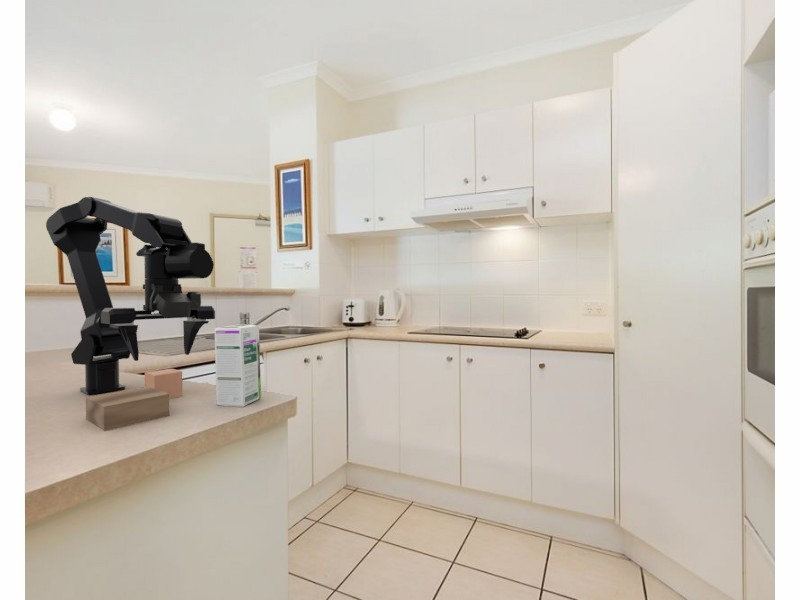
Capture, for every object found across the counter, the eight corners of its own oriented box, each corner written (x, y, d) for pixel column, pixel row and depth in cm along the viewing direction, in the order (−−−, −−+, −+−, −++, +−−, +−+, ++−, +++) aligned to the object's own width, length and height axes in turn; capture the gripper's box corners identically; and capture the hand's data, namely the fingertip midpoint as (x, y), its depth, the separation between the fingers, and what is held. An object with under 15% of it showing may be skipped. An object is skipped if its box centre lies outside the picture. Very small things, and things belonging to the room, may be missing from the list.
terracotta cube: (145, 397, 77) (144, 372, 77) (172, 392, 81) (171, 368, 81) (154, 401, 74) (154, 375, 74) (182, 396, 78) (182, 371, 78)
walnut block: (86, 421, 63) (85, 397, 63) (147, 408, 70) (147, 386, 70) (104, 433, 58) (103, 406, 58) (169, 417, 65) (169, 394, 65)
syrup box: (244, 407, 69) (243, 326, 69) (214, 405, 71) (213, 326, 70) (261, 398, 75) (260, 324, 75) (234, 397, 76) (233, 323, 76)
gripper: (119, 276, 65) (120, 369, 65) (227, 279, 79) (228, 355, 80) (99, 278, 72) (100, 362, 72) (202, 280, 86) (203, 350, 86)
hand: (162, 357), depth 77 cm, fingers open, 9 cm apart
